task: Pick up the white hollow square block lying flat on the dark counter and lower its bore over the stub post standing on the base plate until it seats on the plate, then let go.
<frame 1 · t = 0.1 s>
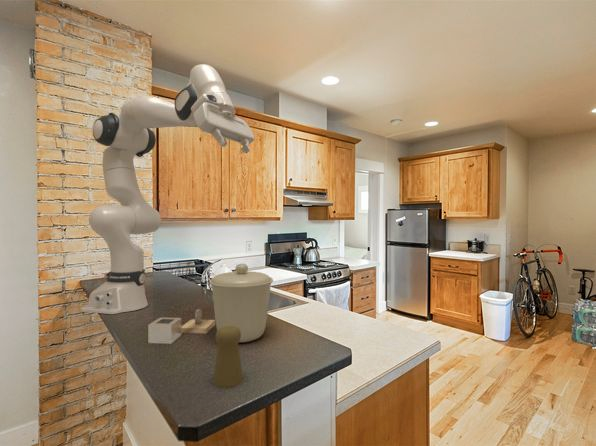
hand: (235, 148, 89), 54 cm above the countertop, tool tilted 30°, fingers open, 8 cm apart
olive pepper mill: (228, 380, 65), on the countertop
white hollow square block: (165, 338, 87), on the countertop
base plate: (198, 328, 96), on the countertop
canister: (241, 337, 90), on the countertop
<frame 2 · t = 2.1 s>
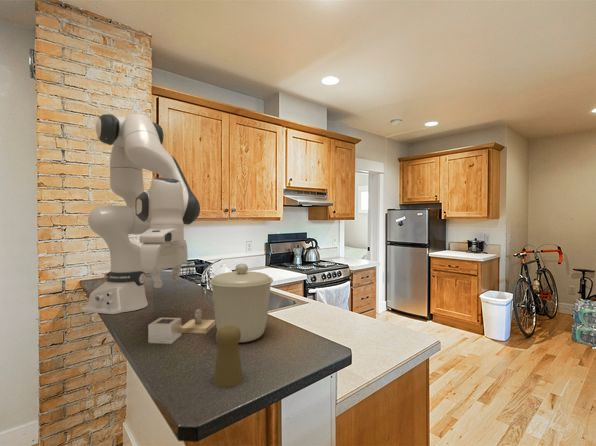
hand: (167, 283, 87), 16 cm above the countertop, tool pointing down, fingers open, 8 cm apart
nothing on the countertop moved.
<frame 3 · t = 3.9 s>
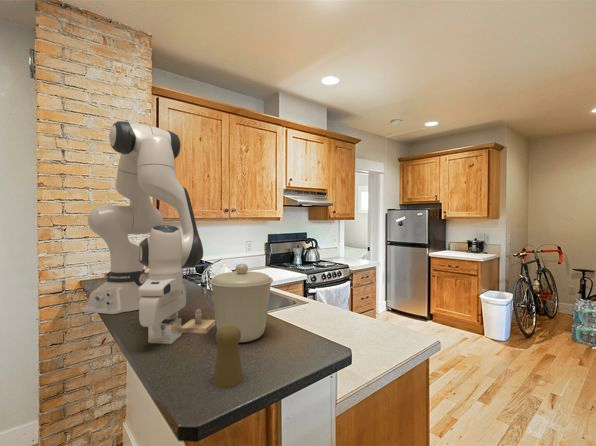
hand: (165, 332, 87), 2 cm above the countertop, tool pointing down, fingers closed on white hollow square block, 6 cm apart
white hollow square block: (165, 338, 87), on the countertop, touching gripper
everything else where it was.
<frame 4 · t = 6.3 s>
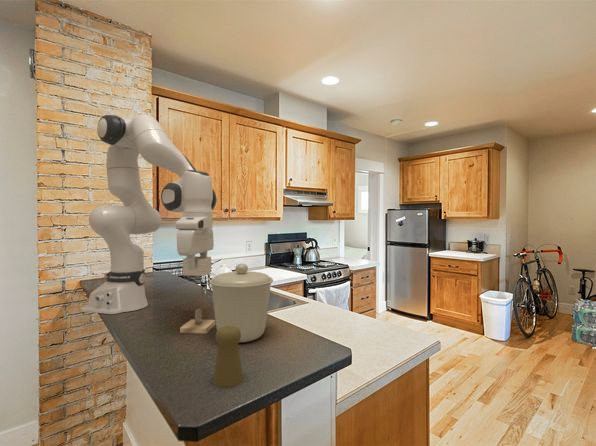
hand: (197, 267, 95), 19 cm above the countertop, tool pointing down, fingers closed on white hollow square block, 6 cm apart
white hollow square block: (197, 273, 95), point 17 cm above the countertop, touching gripper
everything else where it was.
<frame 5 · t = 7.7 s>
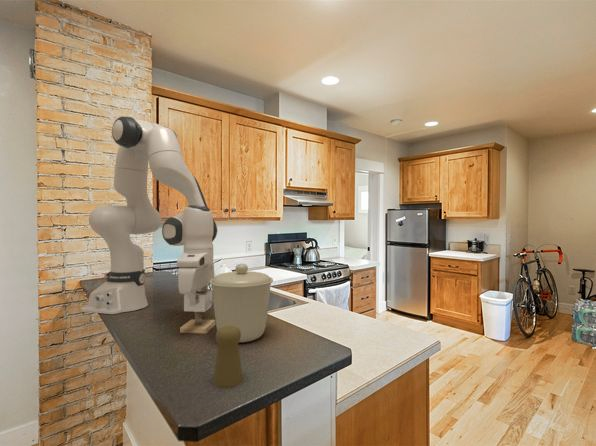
hand: (198, 302, 96), 8 cm above the countertop, tool pointing down, fingers closed on white hollow square block, 6 cm apart
white hollow square block: (198, 308, 96), point 6 cm above the countertop, touching gripper
everything else where it was.
when the fingers open (5 cm above the countertop, at t = 9.0 s): white hollow square block drops 1 cm, resting on base plate.
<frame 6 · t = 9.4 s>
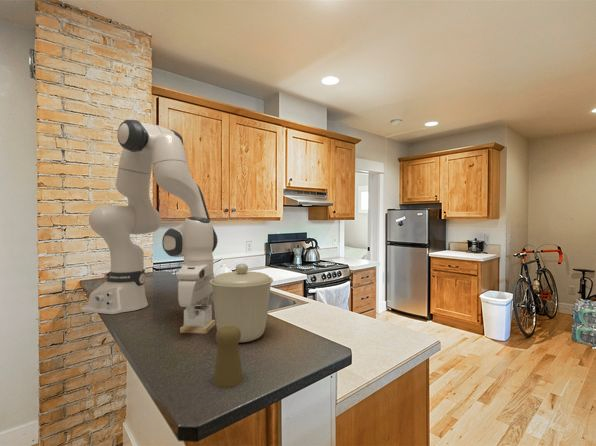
hand: (198, 313, 96), 5 cm above the countertop, tool pointing down, fingers open, 8 cm apart
white hollow square block: (198, 323, 96), point 1 cm above the countertop, touching base plate
everything else where it was.
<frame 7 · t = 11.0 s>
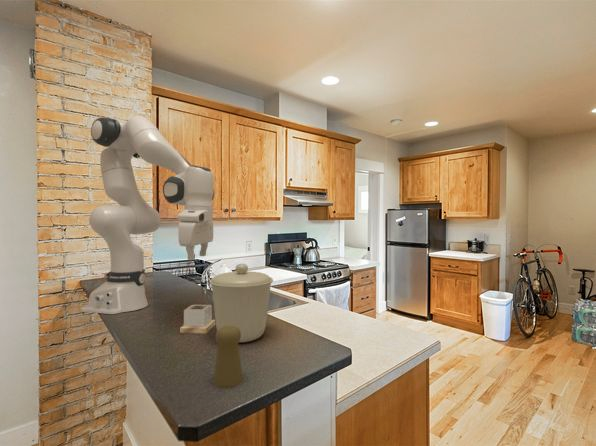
hand: (197, 257, 101), 21 cm above the countertop, tool pointing down, fingers open, 8 cm apart
nothing on the countertop moved.
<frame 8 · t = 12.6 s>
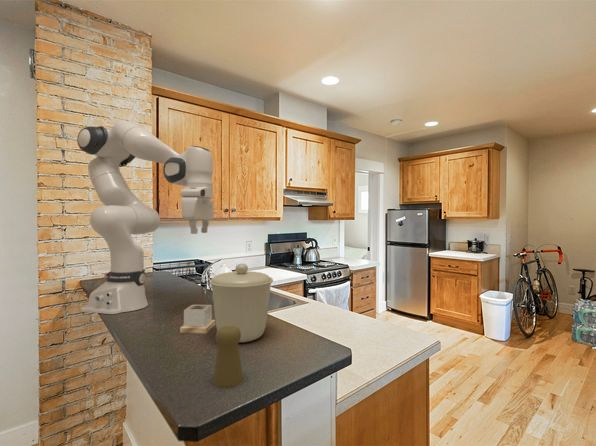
hand: (199, 233, 107), 29 cm above the countertop, tool pointing down, fingers open, 8 cm apart
nothing on the countertop moved.
at the end: white hollow square block 0.1 cm off-centre on the base plate, point 1.5 cm above the base plate's base; the gripper is holding nothing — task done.
